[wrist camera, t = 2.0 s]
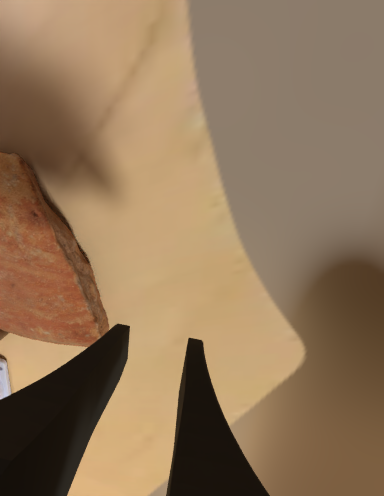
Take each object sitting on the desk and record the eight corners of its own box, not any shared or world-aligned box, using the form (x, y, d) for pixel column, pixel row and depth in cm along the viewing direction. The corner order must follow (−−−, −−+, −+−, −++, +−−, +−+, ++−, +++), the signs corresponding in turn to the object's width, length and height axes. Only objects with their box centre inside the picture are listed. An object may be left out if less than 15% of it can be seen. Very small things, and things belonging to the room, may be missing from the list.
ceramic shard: (116, 204, 15) (98, 364, 22) (138, 175, 20) (118, 310, 28) (-172, 134, 13) (-88, 331, 20) (-62, 123, 19) (-27, 282, 26)
